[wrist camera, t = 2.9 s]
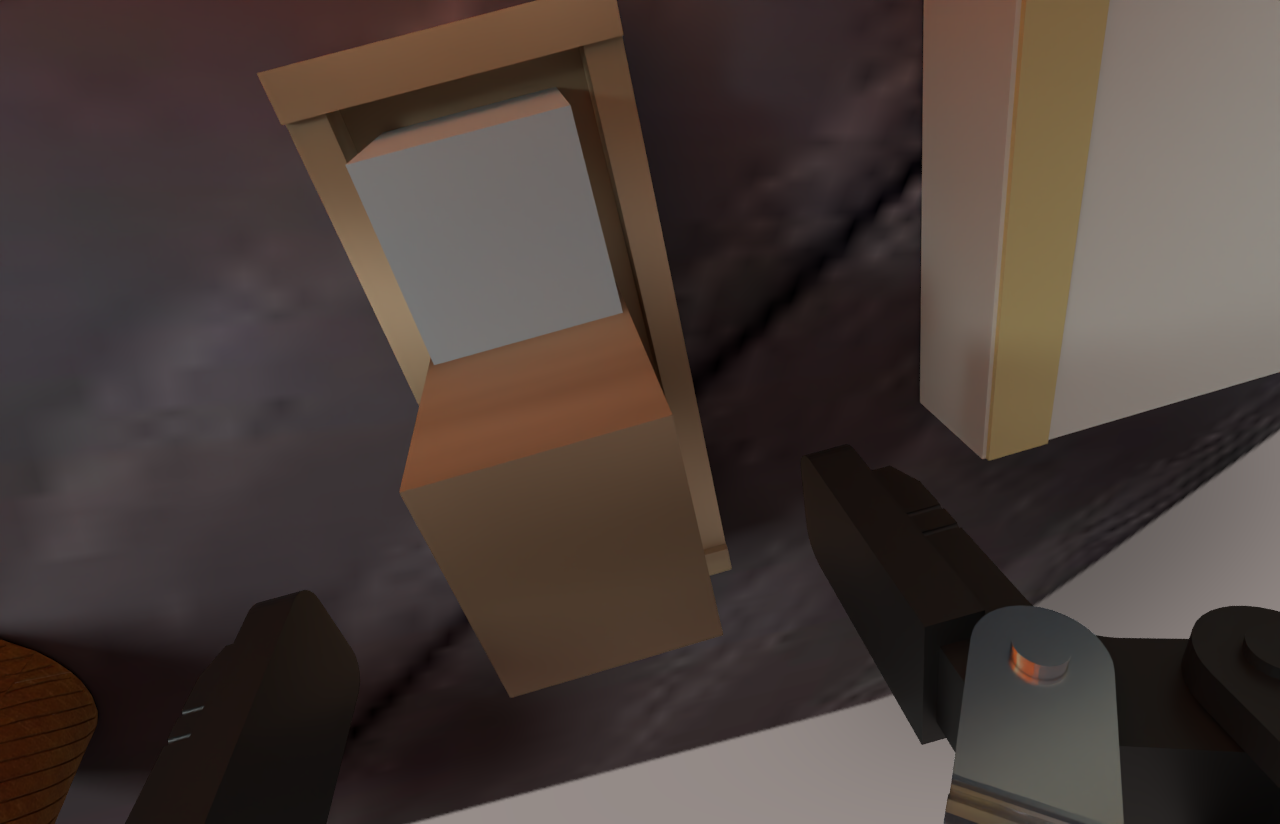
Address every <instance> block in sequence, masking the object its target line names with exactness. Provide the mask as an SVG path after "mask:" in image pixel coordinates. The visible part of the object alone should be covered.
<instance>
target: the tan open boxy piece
mask: <svg viewBox="0 0 1280 824" xmlns="http://www.w3.org/2000/svg"><path fill="white" fill-rule="evenodd" d="M622 35H623V30H622V25H621V20H620V15H619V10H618V5H617V0H536V1H532V2H528V3H525V4H521V5H517V6H513V7H509V8H505V9H502V10H498V11H494V12H490V13H486V14H482V15H478V16H475V17H471V18H467V19H463V20H459V21H455V22H452V23H448V24H444V25H440V26H436V27H432V28H429V29H425V30H421V31H417V32H413V33H409V34H406V35H402V36H398V37H394V38H390V39H386V40H383V41H379V42H375V43H371V44H367V45H363V46H360V47H356V48H352V49H348V50H344V51H340V52H337V53H333V54H329V55H325V56H321V57H317V58H313V59H310V60H306V61H302V62H298V63H294V64H290V65H287V66H283V67H279V68H275V69H271V70H267V71H264V72H260V73H257V75H258V77H259V79H260V81H261V83H262V85H263V87H264V89H265V92H266V94H267V96H268V98H269V100H270V102H271V104H272V106H273V108H274V110H275V112H276V115H277V117H278V119H279V121H280V123H281V125H284V124H285V125H286V127H287V129H288V131H289V133H290V135H291V137H292V139H293V142H294V144H295V146H296V148H297V150H298V152H299V154H300V156H301V158H302V160H303V163H304V165H305V167H306V169H307V171H308V173H309V175H310V177H311V179H312V182H313V184H314V186H315V188H316V190H317V192H318V194H319V196H320V198H321V200H322V203H323V205H324V207H325V209H326V211H327V213H328V215H329V217H330V219H331V222H332V224H333V226H334V228H335V230H336V232H337V234H338V236H339V238H340V240H341V243H342V245H343V247H344V249H345V251H346V253H347V255H348V257H349V259H350V262H351V264H352V266H353V268H354V270H355V272H356V274H357V276H358V278H359V280H360V283H361V285H362V287H363V289H364V291H365V293H366V295H367V297H368V299H369V302H370V304H371V306H372V308H373V310H374V312H375V314H376V316H377V318H378V320H379V323H380V325H381V327H382V329H383V331H384V333H385V335H386V337H387V339H388V341H389V344H390V346H391V348H392V350H393V352H394V354H395V356H396V358H397V360H398V363H399V365H400V367H401V369H402V371H403V373H404V375H405V377H406V379H407V381H408V384H409V386H410V388H411V390H412V392H413V394H414V396H415V398H416V400H417V403H418V405H419V410H418V414H417V419H416V423H415V427H414V432H413V436H412V440H411V445H410V449H409V453H408V458H407V462H406V466H405V470H404V475H403V479H402V483H401V488H400V492H399V493H400V495H401V496H402V498H403V500H404V502H405V504H406V506H407V508H408V509H409V511H410V513H411V515H412V517H413V519H414V521H415V522H416V524H417V526H418V528H419V530H420V532H421V533H422V535H423V537H424V539H425V541H426V543H427V545H428V546H429V548H430V550H431V552H432V554H433V556H434V558H435V559H436V561H437V563H438V565H439V567H440V569H441V571H442V572H443V574H444V576H445V578H446V580H447V582H448V583H449V585H450V587H451V589H452V591H453V593H454V595H455V596H456V598H457V600H458V602H459V604H460V606H461V608H462V609H463V611H464V613H465V615H466V617H467V619H468V621H469V622H470V624H471V626H472V628H473V630H474V632H475V633H476V635H477V637H478V639H479V641H480V643H481V645H482V646H483V648H484V650H485V652H486V654H487V656H488V658H489V659H490V661H491V663H492V665H493V667H494V669H495V671H496V672H497V674H498V676H499V678H500V680H501V682H502V684H503V685H504V687H505V689H506V691H507V693H508V695H509V696H510V698H513V697H516V696H519V695H523V694H526V693H529V692H533V691H536V690H540V689H543V688H546V687H550V686H553V685H556V684H560V683H563V682H566V681H570V680H573V679H577V678H580V677H583V676H587V675H590V674H593V673H597V672H600V671H604V670H607V669H610V668H614V667H617V666H620V665H624V664H627V663H631V662H634V661H637V660H641V659H644V658H647V657H651V656H654V655H657V654H661V653H664V652H668V651H671V650H674V649H678V648H681V647H684V646H688V645H691V644H695V643H698V642H701V641H705V640H708V639H711V638H715V637H718V636H722V635H723V632H722V628H721V623H720V619H719V615H718V610H717V606H716V602H715V597H714V593H713V589H712V584H711V580H710V575H713V574H717V573H720V572H723V571H727V570H730V569H732V567H731V562H730V557H729V553H728V548H727V546H726V543H725V538H724V533H723V528H722V523H721V519H720V514H719V509H718V504H717V499H716V494H715V489H714V484H713V479H712V474H711V469H710V465H709V460H708V455H707V450H706V445H705V440H704V435H703V430H702V425H701V420H700V416H699V411H698V406H697V401H696V396H695V391H694V386H693V381H692V376H691V371H690V367H689V362H688V357H687V352H686V347H685V342H684V337H683V332H682V327H681V322H680V317H679V313H678V308H677V303H676V298H675V293H674V288H673V283H672V278H671V273H670V268H669V264H668V259H667V254H666V249H665V244H664V239H663V234H662V229H661V224H660V219H659V214H658V210H657V205H656V200H655V195H654V190H653V185H652V180H651V175H650V170H649V165H648V161H647V156H646V151H645V146H644V141H643V136H642V131H641V126H640V121H639V116H638V112H637V107H636V102H635V97H634V92H633V87H632V82H631V77H630V72H629V67H628V62H627V58H626V53H625V48H624V43H623V38H622ZM553 87H556V88H557V89H558V90H559V91H560V93H561V94H562V95H563V96H564V98H565V99H566V100H567V101H568V103H569V104H570V105H571V109H572V113H573V117H574V121H575V125H576V129H577V133H578V137H579V141H580V145H581V149H582V153H583V157H584V161H585V165H586V169H587V173H588V176H589V180H590V184H591V188H592V192H593V196H594V200H595V204H596V208H597V212H598V216H599V220H600V224H601V228H602V232H603V236H604V240H605V244H606V248H607V252H608V256H609V259H610V263H611V267H612V271H613V275H614V279H615V283H616V287H617V291H618V295H619V299H620V303H621V307H622V311H623V313H620V314H616V315H613V316H609V317H606V318H602V319H598V320H595V321H591V322H588V323H584V324H580V325H577V326H573V327H570V328H566V329H562V330H559V331H555V332H552V333H548V334H545V335H541V336H537V337H534V338H530V339H527V340H523V341H519V342H516V343H512V344H509V345H505V346H501V347H498V348H494V349H491V350H487V351H484V352H480V353H476V354H473V355H469V356H466V357H462V358H458V359H455V360H451V361H448V362H444V363H440V364H437V365H434V364H433V362H432V359H431V357H430V355H429V353H428V350H427V348H426V346H425V344H424V341H423V339H422V337H421V335H420V332H419V330H418V328H417V326H416V323H415V321H414V319H413V317H412V314H411V312H410V310H409V308H408V305H407V303H406V301H405V299H404V296H403V294H402V292H401V289H400V287H399V285H398V283H397V280H396V278H395V276H394V274H393V271H392V269H391V267H390V265H389V262H388V260H387V258H386V256H385V253H384V251H383V249H382V247H381V244H380V242H379V240H378V238H377V235H376V233H375V231H374V229H373V226H372V224H371V222H370V219H369V217H368V215H367V213H366V210H365V208H364V206H363V204H362V201H361V199H360V197H359V195H358V192H357V190H356V188H355V186H354V183H353V181H352V179H351V177H350V174H349V172H348V170H347V168H346V164H347V163H348V162H349V161H351V160H352V159H353V158H354V157H355V156H356V155H357V154H359V153H360V152H361V151H362V150H363V149H364V148H366V147H367V146H368V145H369V144H370V143H371V142H372V141H374V140H375V139H376V138H377V137H378V136H379V135H380V134H382V133H383V132H387V131H390V130H394V129H398V128H402V127H406V126H409V125H413V124H417V123H421V122H424V121H428V120H432V119H436V118H439V117H443V116H447V115H451V114H455V113H458V112H462V111H466V110H470V109H473V108H477V107H481V106H485V105H489V104H492V103H496V102H500V101H504V100H507V99H511V98H515V97H519V96H522V95H526V94H530V93H534V92H538V91H541V90H545V89H549V88H553Z"/></svg>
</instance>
